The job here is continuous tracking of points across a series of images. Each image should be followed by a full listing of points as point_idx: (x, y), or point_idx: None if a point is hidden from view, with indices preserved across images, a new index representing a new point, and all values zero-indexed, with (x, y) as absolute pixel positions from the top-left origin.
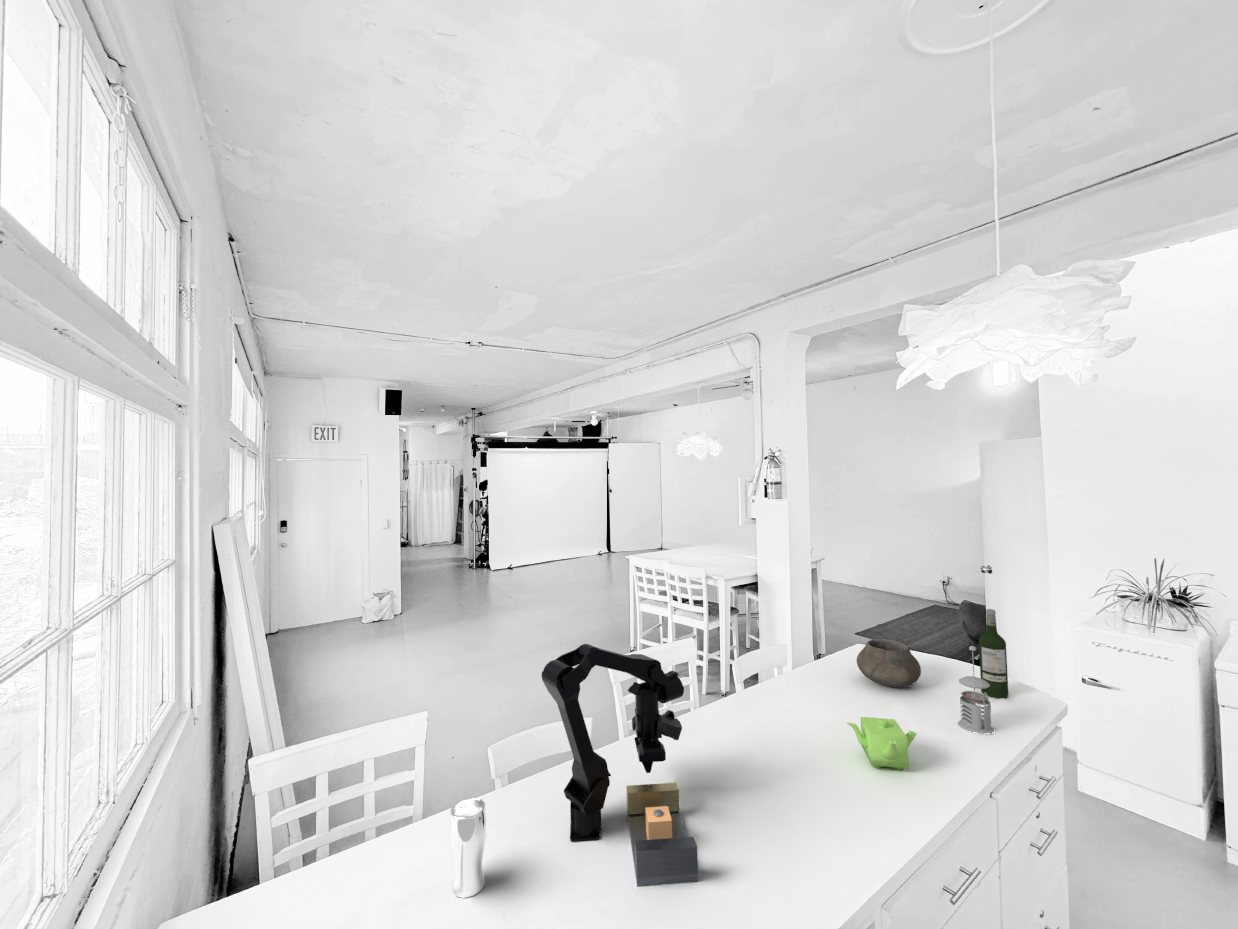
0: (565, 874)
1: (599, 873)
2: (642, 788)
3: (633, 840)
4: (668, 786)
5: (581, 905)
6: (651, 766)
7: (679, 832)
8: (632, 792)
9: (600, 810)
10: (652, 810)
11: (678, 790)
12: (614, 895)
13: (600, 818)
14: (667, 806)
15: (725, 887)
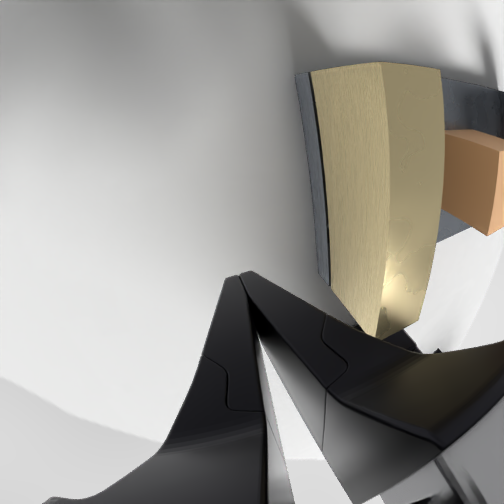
0: (445, 318)
1: (461, 272)
2: (409, 276)
3: (449, 232)
4: (416, 127)
5: (486, 275)
6: (284, 293)
7: (445, 97)
8: (420, 306)
9: (410, 349)
10: (500, 210)
11: (438, 72)
12: (492, 237)
13: (408, 335)
14: (500, 153)
15: (499, 48)
